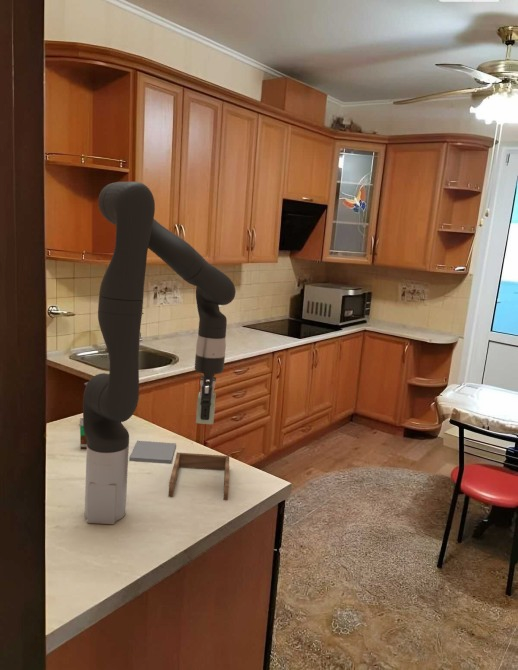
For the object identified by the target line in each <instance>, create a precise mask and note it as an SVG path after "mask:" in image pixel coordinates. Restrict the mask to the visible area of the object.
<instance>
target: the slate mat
mask: <svg viewBox="0 0 518 670" xmlns="http://www.w3.org/2000/svg"><path fill="white" fill-rule="evenodd" d="M176 446H177V443H176V442H175V443H174V442H164V441H163V442H161V441H147V440H136V442H135V445H134V447H133V449H132V451H131V453H130V456H128V462H129V461H130V462H132V461H133V462H143V463H144V462H145V463H159V464H172V463H173V459H174V454H175V451H176Z"/></svg>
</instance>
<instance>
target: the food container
mask: <svg viewBox="0 0 518 670" xmlns="http://www.w3.org/2000/svg"><path fill="white" fill-rule="evenodd" d="M79 430H80V431H79V434H80V437H79V438H80V439H79V440H80V441H79V442H80V450H87V438H86V436H85V433H84V428H83V417H82V418H80V419H79Z"/></svg>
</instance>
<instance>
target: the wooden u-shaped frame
mask: <svg viewBox="0 0 518 670" xmlns="http://www.w3.org/2000/svg"><path fill="white" fill-rule="evenodd" d="M180 468H186V469H201V470H202V469H203V470H216V471H224V477H223V479H224V481H223V500H224V501H228V499H229V498H228V497H229V496H228V495H229V488H230V487H229V484H230V483H229V480H230V455H219V454H207V453H206V454H204V453H191V452H187V453H186V452H178V451H177V452H176V455H175V459H174V461H173V466H172V471H171V474H170V478H169V483H168V494H167V495H168V496H167V497H170V498H171V497H173V496H174V491H175V486H176V482H177V478H178V474H179V470H180Z"/></svg>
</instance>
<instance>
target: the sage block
mask: <svg viewBox="0 0 518 670" xmlns="http://www.w3.org/2000/svg"><path fill="white" fill-rule="evenodd" d="M216 395H217V393H215V392H214V395H213V397H212V398H211V406H210V414H209V420H202V419H201V404H200V403H201V396H200V391H198V395H197V401H196V402H197V403H196V416H195V424H201V425H202V424H204V425H213V424H214V420H215V407H216V398H217V397H216ZM203 401H208V402H209V399H203Z"/></svg>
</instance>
